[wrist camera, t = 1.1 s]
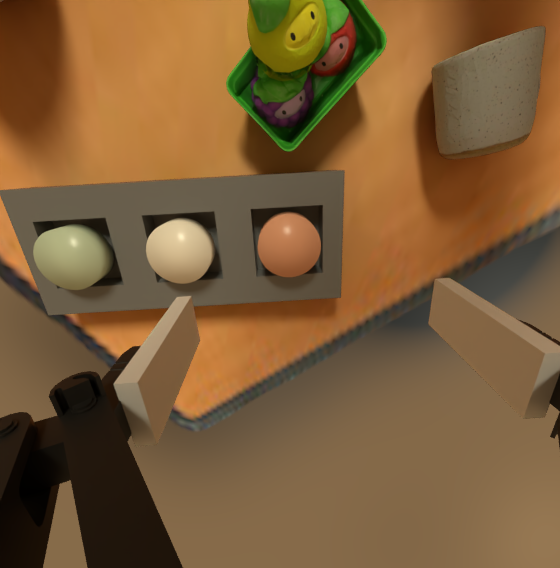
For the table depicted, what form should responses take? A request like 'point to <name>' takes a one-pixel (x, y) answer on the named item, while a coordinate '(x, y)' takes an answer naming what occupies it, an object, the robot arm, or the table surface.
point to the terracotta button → (288, 244)
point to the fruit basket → (302, 62)
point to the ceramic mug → (488, 95)
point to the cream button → (180, 250)
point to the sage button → (73, 256)
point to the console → (194, 205)
